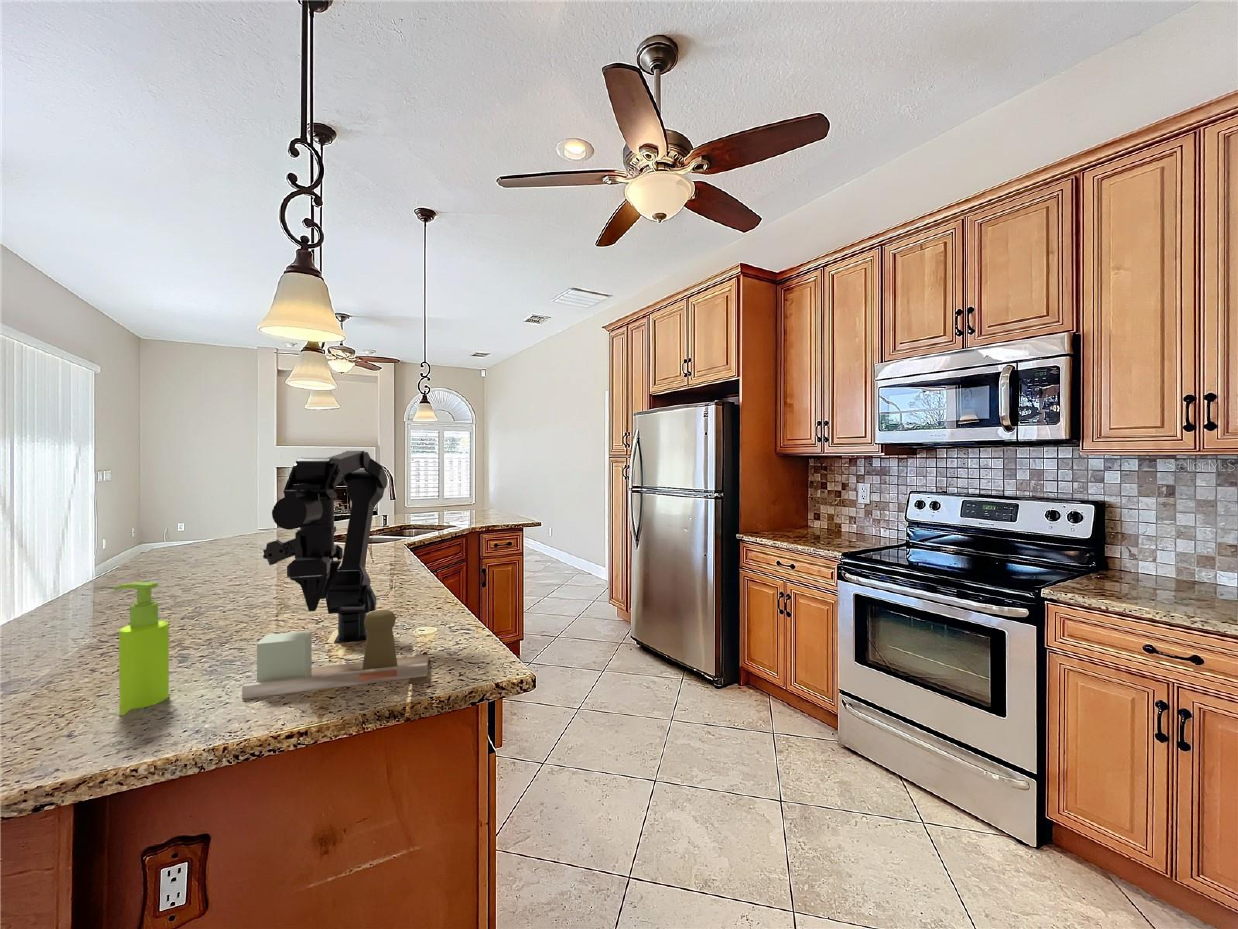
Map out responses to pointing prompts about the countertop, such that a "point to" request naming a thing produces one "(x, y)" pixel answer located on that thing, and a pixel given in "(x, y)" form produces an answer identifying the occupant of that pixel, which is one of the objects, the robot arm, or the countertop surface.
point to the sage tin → (284, 656)
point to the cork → (379, 640)
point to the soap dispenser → (143, 653)
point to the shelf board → (342, 677)
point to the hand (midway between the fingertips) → (317, 604)
